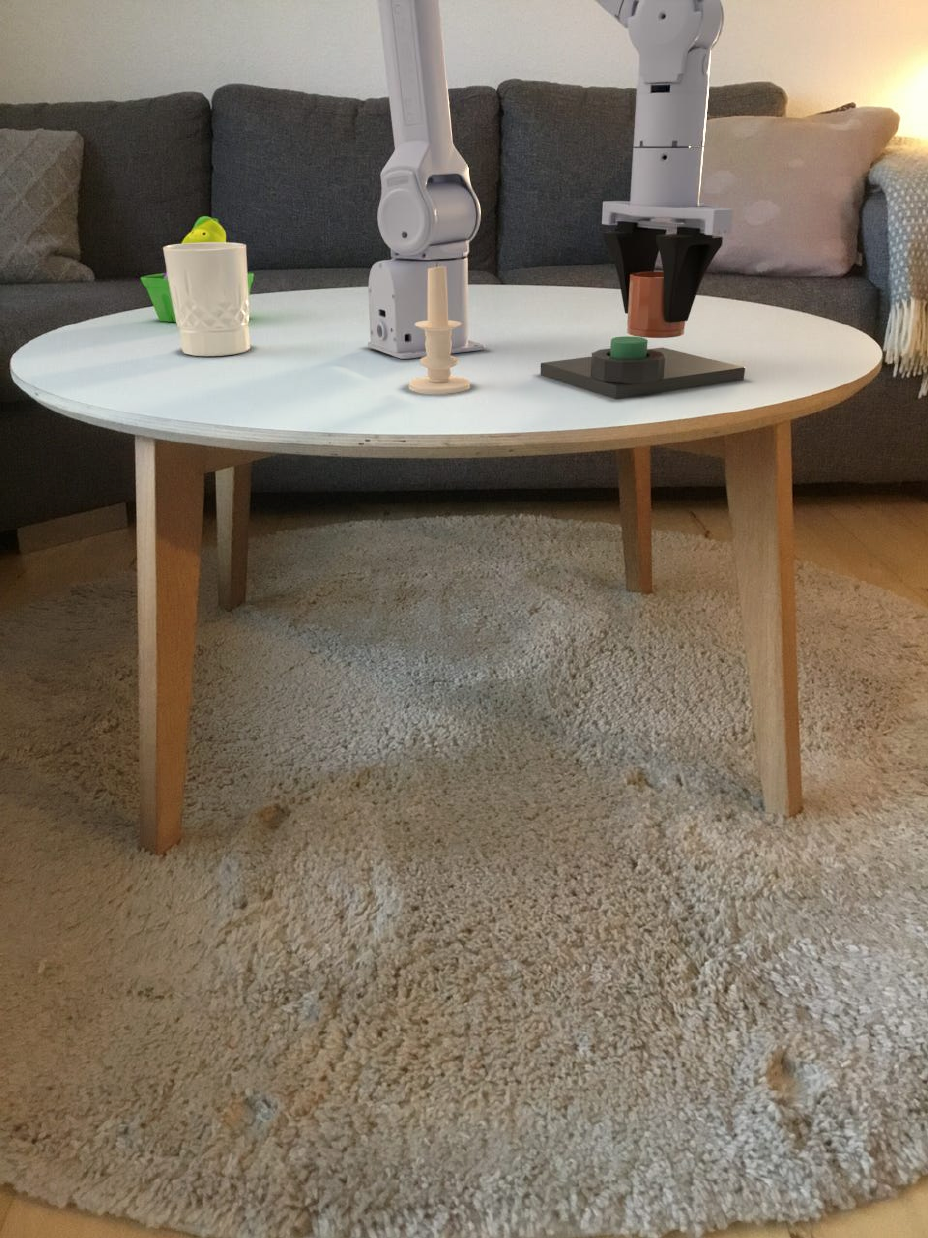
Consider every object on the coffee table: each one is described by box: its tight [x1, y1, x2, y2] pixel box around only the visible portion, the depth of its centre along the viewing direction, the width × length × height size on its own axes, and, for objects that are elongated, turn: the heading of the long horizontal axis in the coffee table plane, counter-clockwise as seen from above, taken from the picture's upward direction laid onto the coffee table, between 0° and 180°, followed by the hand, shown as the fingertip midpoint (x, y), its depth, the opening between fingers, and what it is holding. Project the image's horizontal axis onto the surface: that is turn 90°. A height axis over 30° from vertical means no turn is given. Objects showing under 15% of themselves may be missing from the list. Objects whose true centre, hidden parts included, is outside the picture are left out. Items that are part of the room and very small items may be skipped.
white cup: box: [162, 241, 251, 357], centre depth 100 cm, size 8×8×10 cm
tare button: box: [609, 335, 648, 359], centre depth 83 cm, size 3×3×2 cm
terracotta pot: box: [626, 270, 686, 339], centre depth 89 cm, size 5×5×5 cm
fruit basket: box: [140, 215, 255, 323], centre depth 118 cm, size 11×9×11 cm
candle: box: [408, 260, 471, 395], centre depth 84 cm, size 5×5×10 cm
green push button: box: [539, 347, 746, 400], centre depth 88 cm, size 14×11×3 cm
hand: (656, 316), depth 89 cm, fingers closed on terracotta pot, 5 cm apart
